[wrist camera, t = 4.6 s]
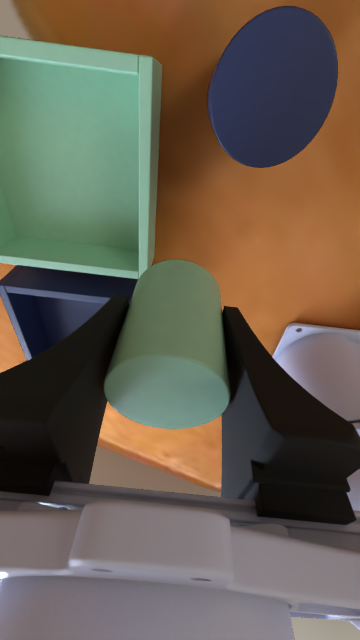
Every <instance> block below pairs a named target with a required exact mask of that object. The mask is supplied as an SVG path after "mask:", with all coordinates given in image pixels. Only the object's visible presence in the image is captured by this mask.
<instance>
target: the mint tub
mask: <svg viewBox="0 0 360 640" xmlns="http://www.w3.org/2000/svg"><path fill="white" fill-rule="evenodd" d="M161 86H162V64H161V63H160V62H158V61H157V60H156V59H155V58H153V57H152V56H147V55H138V54H132V53H125V52H117V51H110V50H103V49H95V48H88V47H80V46H73V45H66V44H58V43H51V42H43V41H36V40H29V39H21V38H14V37H6V36H0V263H6V264H15V265H23V266H32V267H40V268H49V269H57V270H66V271H74V272H83V273H91V274H99V275H108V276H116V277H125V278H133V279H139V278H140V276H141V275H142V274H143V272H144V271H145V270H147V269H148V268H149V267H151V266H152V262H153V259H154V254H155V230H156V206H157V182H158V158H159V134H160V110H161Z"/></svg>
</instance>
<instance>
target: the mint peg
mask: <svg viewBox="0 0 360 640" xmlns="http://www.w3.org/2000/svg"><path fill="white" fill-rule="evenodd" d="M103 385H104V393H105V396H106V399H107V401H108V402H109V403H110V405H111V406H112V407H113V408H114V409H115V410H116V411H118V412H119V413H120V414H122V415H123V416H125V417H127V418H128V419H130V420H133V421H135V422H138V423H140V424H144V425H147V426H152V427H157V428H165V429H183V428H191V427H196V426H200V425H203V424H206V423H208V422H210V421H212V420H214V419H216V418H217V417H219V416H220V415H221V414H222V413H223V412H224V411H225V409H226V408H227V406H228V404H229V401H230V395H231V393H230V383H229V373H228V364H227V354H226V344H225V335H224V325H223V316H222V306H221V296H220V289H219V286H218V284H217V282H216V280H215V279H214V277H213V276H212V275H211V274H210V273H209V272H208V271H207V270H206V269H205V268H203V267H201V266H200V265H198V264H195V263H193V262H190V261H185V260H166V261H162V262H159V263H157V264H154V265H152V266H151V267H149V268H148V269H147V270H145V271H144V272H143V274H142V275H141V276H140V278H139V279H138V281H137V284H136V287H135V290H134V293H133V296H132V299H131V302H130V305H129V308H128V311H127V314H126V317H125V319H124V322H123V325H122V328H121V331H120V334H119V337H118V340H117V343H116V346H115V349H114V352H113V355H112V358H111V361H110V364H109V367H108V370H107V373H106V376H105V379H104V384H103Z"/></svg>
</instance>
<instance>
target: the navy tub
mask: <svg viewBox="0 0 360 640" xmlns="http://www.w3.org/2000/svg"><path fill="white" fill-rule="evenodd" d="M137 281H138V279H133V278H125V277H116V276H108V275H99V274H91V273H83V272H74V271H66V270H57V269H49V268H40V267H32V266H23V265H17V266H15V267H14V268H13V269H12V270H11V271H10V272H9V273H8V274H7V275H6V276H5V277H4V278H2V279H1V280H0V296H1V298H2V301H3V303H4V306H5V308H6V310H7V313H8V315H9V318H10V320H11V323H12V325H13V327H14V330H15V332H16V335H17V337H18V340H19V342H20V344H21V347H22V349H23V352H24V354H25V357H26V359H27V360H29V359H31V358H33V357H35V356H37V355H38V354H40V353H42V352H44V351H45V350H47V349H49V348H50V347H52V346H54V345H55V344H57V343H58V342H60V341H61V340H63V339H64V338H66V337H67V336H68V335H70V334H71V333H72V332H74V331H75V330H76V329H77V328H79V327H80V326H81V325H82V324H84V323H85V322H86V321H87V320H88V319H89V318H91V317H92V316H93V315H94V314H95V313H96V312H97V311H98V310H99V309H100V308H101V307H102V306H103V305H104V304H105V303H106V302H107V301H108V300H109V299H110V298H111V297H112V296H113V295H115V294H124V295H129V305H130V302H131V299H132V296H133V293H134V290H135V287H136V284H137Z"/></svg>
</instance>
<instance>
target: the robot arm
mask: <svg viewBox="0 0 360 640" xmlns="http://www.w3.org/2000/svg"><path fill="white" fill-rule="evenodd" d="M128 308H129V295H124V294H115V295H113V296H112V297H111V298H110V299H109V300H108V301H107V302H106V303H105V304H104V305H103V306H102V307H101V308H100V309H99V310H98V311H97V312H96V313H95V314H94V315H93V316H92V317H91V318H89V319H88V320H87V321H86V322H85V323H84V324H82V325H81V326H80V327H79V328H77V329H76V330H75V331H74V332H72V333H71V334H70V335H68V336H67V337H66V338H64V339H63V340H61V341H60V342H58V343H57V344H55V345H54V346H52V347H50V348H49V349H47V350H45V351H44V352H42V353H40V354H38V355H37V356H35V357H33V358H31V359H29V360H27V361H25V362H23V363H21V364H19V365H17V366H15V367H13V368H11V369H8V370H6V371H4V372H2V373H0V640H294V634H293V628H292V623H291V617H301V618H316V619H331V620H345V621H350V622H351V623H352V624H353V625H355V626H356V627H357V628H358V629H359V630H360V330H353V329H344V328H335V327H327V326H318V325H310V324H301V323H290V324H289V325H288V326H287V328H286V330H285V332H284V334H283V336H282V338H281V340H280V342H279V344H278V346H277V348H276V350H275V352H274V354H273V356H271V355H270V354H269V353H268V351H267V350H266V349H265V348H264V346H263V345H262V344H261V342H260V341H259V340H258V338H257V337H256V335H255V334H254V333H253V331H252V330H251V328H250V327H249V325H248V323H247V322H246V320H245V319H244V317H243V315H242V314H241V312H240V311H239V309H238V308H236V307H228V306H224V309H223V313H222V316H223V325H224V335H225V344H226V354H227V364H228V373H229V383H230V393H231V395H230V401H229V404H228V406H227V408H226V409H225V411H224V412H223V413H222V486H221V497H214V496H204V495H193V494H184V493H174V492H163V491H153V490H144V489H134V488H133V489H132V488H123V487H113V486H104V485H93V484H89V481H90V476H91V471H92V466H93V461H94V456H95V451H96V447H97V442H98V438H99V433H100V429H101V425H102V421H103V416H104V412H105V408H106V404H107V399H106V396H105V393H104V385H103V384H104V379H105V376H106V373H107V370H108V367H109V364H110V361H111V358H112V355H113V352H114V349H115V346H116V343H117V340H118V337H119V334H120V331H121V328H122V325H123V322H124V319H125V317H126V314H127V311H128ZM298 328H300V329H298Z"/></svg>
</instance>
